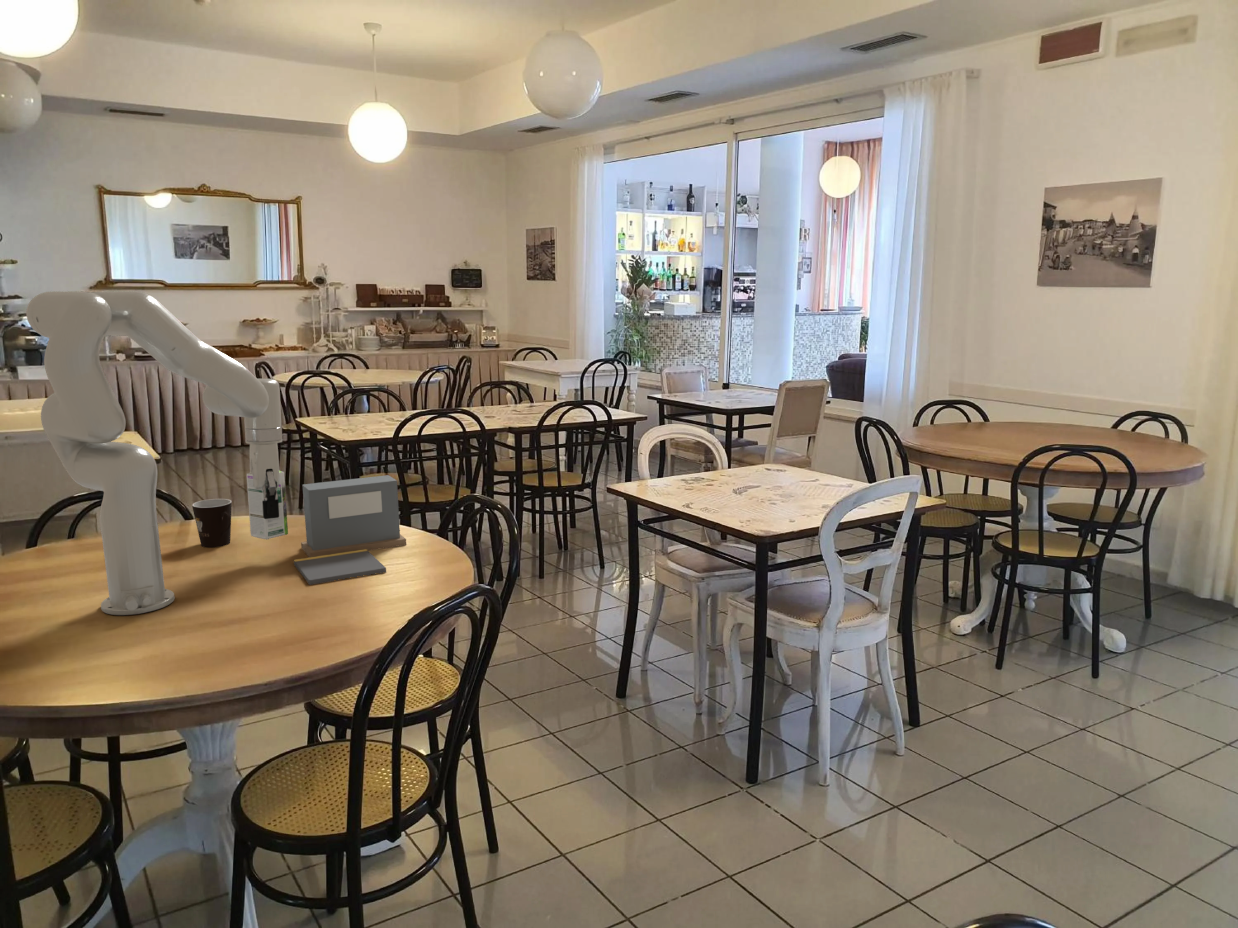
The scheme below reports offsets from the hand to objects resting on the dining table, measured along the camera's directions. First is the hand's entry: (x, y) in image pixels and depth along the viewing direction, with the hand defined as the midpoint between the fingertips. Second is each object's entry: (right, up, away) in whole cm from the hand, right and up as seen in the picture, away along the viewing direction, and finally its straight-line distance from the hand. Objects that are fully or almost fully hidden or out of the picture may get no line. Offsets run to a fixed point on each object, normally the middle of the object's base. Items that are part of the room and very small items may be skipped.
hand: (268, 513), depth 200 cm
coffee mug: (-18, -8, +14) cm, 24 cm away
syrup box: (0, -5, +1) cm, 5 cm away
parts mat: (+17, -12, -4) cm, 21 cm away
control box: (+15, -8, +13) cm, 22 cm away
